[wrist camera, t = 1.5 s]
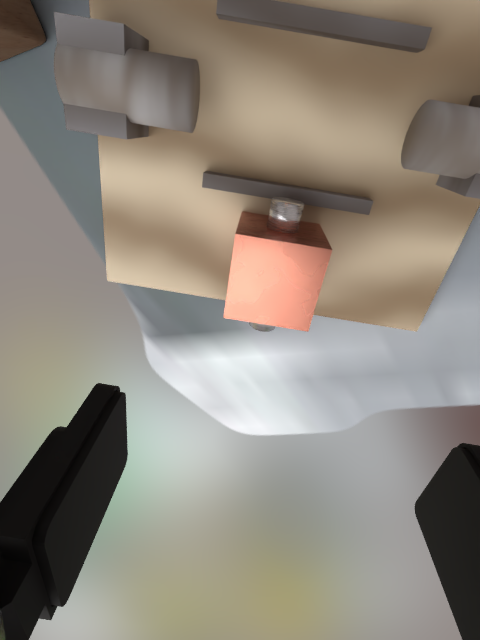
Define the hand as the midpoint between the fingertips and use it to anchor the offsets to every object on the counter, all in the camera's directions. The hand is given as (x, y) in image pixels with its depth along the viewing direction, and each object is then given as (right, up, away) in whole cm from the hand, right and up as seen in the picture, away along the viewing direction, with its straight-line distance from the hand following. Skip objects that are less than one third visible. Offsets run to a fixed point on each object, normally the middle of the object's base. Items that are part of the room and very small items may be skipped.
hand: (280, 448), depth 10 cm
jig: (+2, +13, +11) cm, 17 cm away
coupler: (+1, +8, +13) cm, 15 cm away
